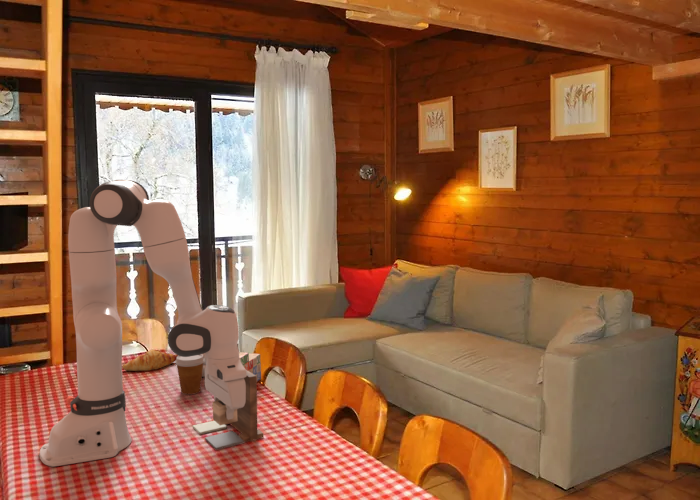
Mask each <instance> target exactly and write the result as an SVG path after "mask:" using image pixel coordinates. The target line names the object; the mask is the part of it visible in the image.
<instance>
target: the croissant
mask: <svg viewBox="0 0 700 500" xmlns="http://www.w3.org/2000/svg"><path fill="white" fill-rule="evenodd" d="M177 356H179V355H177V354H175V353H166V352H164V351H160V350H158V349H150V350H148V351H146V352H145V353H144V354H140V355H138V356H137V357H136V358H135V357H134V359H130V360H129V361H128V362H127V363H124V364H122V370H124V371H129V372H136V371H137V372H141V371H146V372H147V371H152V370H159V369H162V368H163V367H165V366H169V365H172V364H174V363H175V361H176V358H177Z"/></svg>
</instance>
